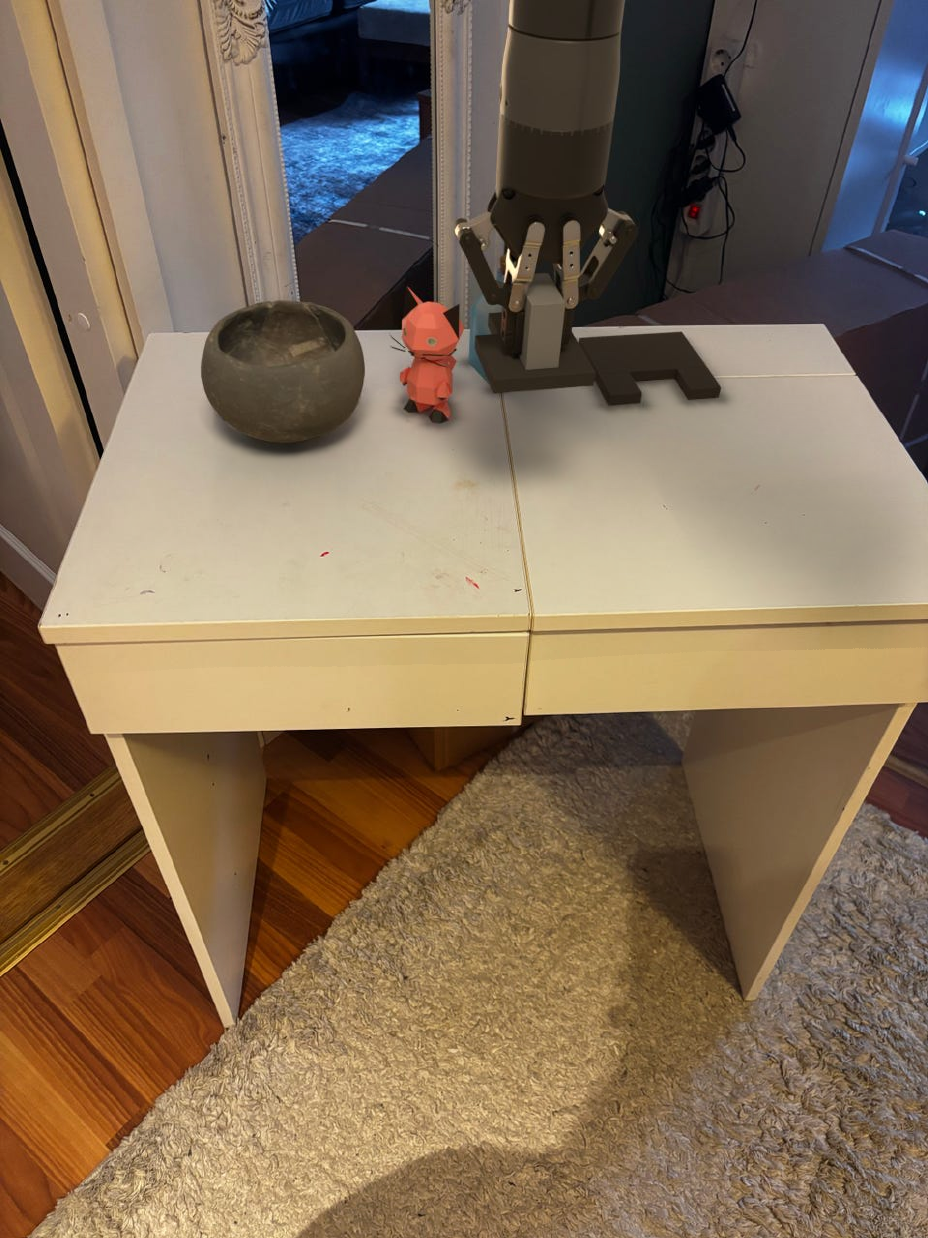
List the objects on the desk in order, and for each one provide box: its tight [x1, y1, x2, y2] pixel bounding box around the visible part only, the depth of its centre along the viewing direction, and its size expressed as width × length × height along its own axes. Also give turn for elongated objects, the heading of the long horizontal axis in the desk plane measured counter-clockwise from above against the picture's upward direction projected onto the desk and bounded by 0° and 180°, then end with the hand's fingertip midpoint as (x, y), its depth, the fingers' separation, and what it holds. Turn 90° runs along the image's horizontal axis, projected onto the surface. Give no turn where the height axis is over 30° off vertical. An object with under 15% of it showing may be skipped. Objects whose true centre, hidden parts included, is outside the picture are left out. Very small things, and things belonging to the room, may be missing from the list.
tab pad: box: [475, 272, 595, 394], centre depth 73 cm, size 8×11×6 cm
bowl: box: [200, 299, 366, 444], centre depth 87 cm, size 15×15×10 cm
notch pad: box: [578, 331, 722, 406], centre depth 100 cm, size 12×12×1 cm
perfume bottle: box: [468, 253, 507, 386], centre depth 95 cm, size 6×6×12 cm
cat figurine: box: [388, 285, 465, 424], centre depth 89 cm, size 7×7×12 cm
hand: (535, 348), depth 73 cm, fingers closed on tab pad, 2 cm apart
